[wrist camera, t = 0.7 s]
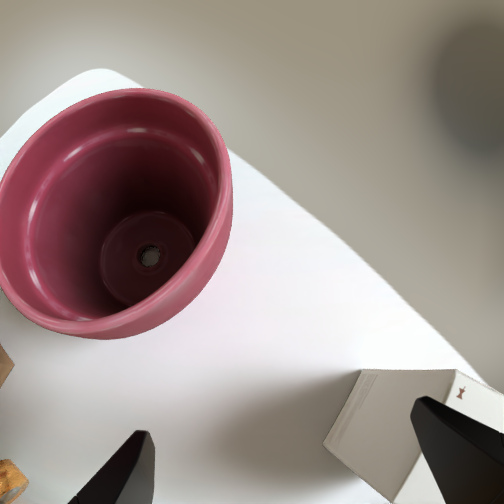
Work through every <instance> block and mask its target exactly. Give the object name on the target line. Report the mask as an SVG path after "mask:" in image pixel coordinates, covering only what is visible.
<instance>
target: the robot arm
mask: <svg viewBox="0 0 504 504" xmlns="http://www.w3.org/2000/svg"><path fill="white" fill-rule="evenodd" d="M410 420H411V423H412V425H413V428H414V431H415V434H416V437H417V440H418V443H419V445H420V448H421V451H422V453H423V455H424V458H425V460H426V462H427V464H428V466H429V468H430V470H431V472H432V475H433V477H434V479H435V481H436V483H437V485H438V488H439V490H440V492H441V494H442V497H443V499H444V501H445V503H446V504H504V433H502V432H500V433H499V431H497V430H495V429H493V428H491V427H489V426H487V425H485V424H483V423H481V422H479V421H477V420H475V419H473V418H471V417H468V416H466V415H464V414H462V413H460V412H458V411H456V410H455V409H453V408H451V407H449V406H447V405H445V404H443V403H441V402H439V401H437V400H435V399H433V398H431V397H429V396H422V397H418V398H417V399H416V400H415V402H414V405H413V408H412V410H411V413H410ZM154 471H155V446H154V443H153V441H152V438H151V436H150V433H149V432H148V431H146V430H136V431H135V432H134V433H133V434H132V435H131V436H130V437H129V438H128V439H127V440H126V441H125V443H124V444H123V445H122V446H121V447H120V448H119V449H118V450H117V451H116V452H115V454H114V455H113V456H112V457H111V458H110V459H109V460H108V461H107V462H106V463H105V464H104V465H103V467H102V468H101V469H100V470H99V471H98V472H97V473H96V474H95V475H94V476H93V477H92V478H91V479H90V481H89V482H88V483H87V484H86V485H85V486H84V487H83V488H82V489H81V490H80V491H79V492H78V493H77V496H74V497H73V498H72V499H71V500H70V502H69V503H68V504H152V500H153V493H154Z"/></svg>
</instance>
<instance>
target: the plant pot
mask: <svg viewBox="0 0 504 504" xmlns="http://www.w3.org/2000/svg"><path fill="white" fill-rule="evenodd" d="M232 215H233V187H232V174H231V165H230V159H229V155H228V152H227V148H226V146H225V143H224V141H223V139H222V137H221V135H220V133H219V131H218V129H217V128H216V126H215V125H214V124H213V122H212V121H211V120H210V119H209V118H208V116H207V115H206V114H205V113H204V112H202V111H201V110H200V109H199V108H197V107H196V106H195V105H193V104H192V103H190V102H188V101H186V100H184V99H182V98H181V97H179V96H176V95H174V94H171V93H168V92H164V91H160V90H154V89H145V88H129V89H120V90H114V91H109V92H105V93H101V94H98V95H95V96H92V97H89V98H87V99H84V100H82V101H80V102H78V103H76V104H74V105H72V106H70V107H68V108H66V109H65V110H63V111H61V112H60V113H59V114H57V115H56V116H54V117H53V118H51V119H50V120H49V121H48V122H46V123H45V124H44V125H43V126H42V127H41V128H39V129H38V130H37V131H36V132H35V133H34V134H33V135H32V136H31V137H30V138H29V139H28V140H27V141H26V143H25V144H24V145H23V146H22V148H21V149H20V150H19V151H18V153H17V154H16V156H15V157H14V159H13V160H12V161H11V163H10V165H9V166H8V168H7V170H6V172H5V174H4V176H3V178H2V180H1V182H0V286H1V288H2V290H3V292H4V293H5V295H6V296H7V298H8V299H9V300H10V302H11V303H12V304H13V305H14V306H15V307H16V309H17V310H18V311H19V312H20V313H21V314H23V315H24V316H25V317H26V318H27V319H29V320H30V321H32V322H34V323H35V324H37V325H39V326H41V327H43V328H46V329H48V330H51V331H54V332H58V333H61V334H65V335H70V336H75V337H81V338H88V339H99V340H110V339H120V338H126V337H130V336H134V335H137V334H140V333H143V332H146V331H148V330H151V329H153V328H155V327H157V326H159V325H161V324H163V323H164V322H166V321H168V320H169V319H171V318H172V317H173V316H175V315H176V314H178V313H179V312H180V311H181V310H183V309H184V308H185V307H186V306H187V305H188V304H190V303H191V302H192V301H193V300H194V299H195V298H196V297H197V296H198V294H199V293H200V292H201V291H202V290H203V288H204V287H205V286H206V284H207V283H208V282H209V280H210V279H211V277H212V275H213V274H214V272H215V271H216V269H217V267H218V265H219V263H220V261H221V259H222V257H223V254H224V252H225V249H226V246H227V243H228V239H229V236H230V231H231V226H232ZM150 246H154V247H157V248H158V249H159V251H160V259H159V261H158V262H157V263H156V264H155V265H153V266H151V267H146V266H144V265H143V264H142V262H141V254H142V252H143V250H144V249H146V248H147V247H150Z"/></svg>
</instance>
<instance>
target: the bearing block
mask: <svg viewBox="0 0 504 504" xmlns="http://www.w3.org/2000/svg"><path fill="white" fill-rule="evenodd" d="M13 366H14V363H13V362H12V361H11V359H10V358H9V356H8V355H7V353H6V352H5V350H4V349H3V347H2V346H1V344H0V388H1V386H2V384H3V383H4V381H5V379H6V378H7V376H8V374H9V373H10V371H11V370H12V368H13Z"/></svg>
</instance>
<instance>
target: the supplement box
mask: <svg viewBox="0 0 504 504" xmlns="http://www.w3.org/2000/svg"><path fill="white" fill-rule="evenodd" d="M422 396H429V397H431V398H433V399H435V400H437V401H439V402H441V403H443V404H445V405H447V406H449V407H451V408H453V409H455V410H456V411H458V412H460V413H462V414H464V415H466V416H468V417H471V418H473V419H475V420H477V421H479V422H481V423H483V424H485V425H487V426H489V427H491V428H493V429H495V430H497V431H499V433H500V432H502V433H504V395H503V394H501V393H499V392H498V391H496V390H495V389H493V388H491V387H488V386H486V385H484V384H482V383H480V382H479V381H477V380H475V379H473V378H471V377H469V376H467V375H466V374H464V373H462V372H461V371H459V370H457V369H444V370H381V369H363V370H362V372H361V374H360V376H359V378H358V380H357V381H356V383H355V385H354V387H353V389H352V391H351V393H350V395H349V397H348V399H347V401H346V403H345V405H344V406H343V408H342V410H341V412H340V414H339V415H338V417H337V419H336V421H335V423H334V424H333V426H332V428H331V430H330V431H329V433H328V435H327V437H326V438H325V440H324V442H323V446H324V447H325V448H326V449H328V450H329V451H330V452H331V453H332V454H333V455H334V456H335V457H337V458H338V459H339V460H340V461H341V462H342V463H343V464H345V465H346V466H347V467H348V468H349V469H350V470H352V471H353V472H354V473H355V474H356V475H358V476H359V477H360V478H361V479H362V480H364V481H365V482H366V483H367V484H369V485H370V486H371V487H372V488H373V489H375V490H376V491H377V492H378V493H380V494H381V495H382V496H383V497H385V498H386V499H387V500H388V501H390V502H391V503H392V504H446V503H445V501H444V499H443V497H442V494H441V492H440V490H439V488H438V485H437V483H436V481H435V479H434V477H433V475H432V472H431V470H430V468H429V466H428V464H427V462H426V460H425V458H424V455H423V453H422V451H421V448H420V445H419V443H418V440H417V437H416V434H415V431H414V428H413V425H412V423H411V420H410V413H411V410H412V408H413V405H414V402H415V400H416V399H417V398H418V397H422Z"/></svg>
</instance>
